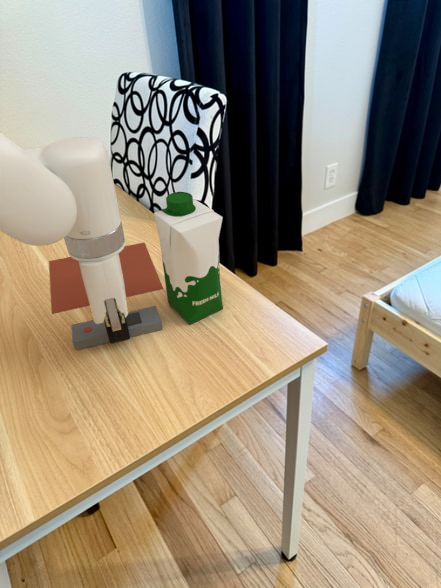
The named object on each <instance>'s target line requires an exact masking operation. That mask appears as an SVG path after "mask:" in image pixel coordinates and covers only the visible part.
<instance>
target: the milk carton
mask: <svg viewBox="0 0 441 588" xmlns="http://www.w3.org/2000/svg"><path fill="white" fill-rule="evenodd" d="M193 198H194V197H193V195H192V194H191V193H189V192H188V191H187V192H186V191H176V192H171V193H170V194H168V195H166V197H165V201H166V202H165V203H166V207H165V208H163V209H160V210H158V211H155V212H154V213H153V216H154V220H155V224H156V229H157V234H158V238H159V245H160V253H161V254H160V255H161V260H162V268H163V269H162V270H163V275H164V283H165V292H166V297H167V304H168V305H169V306H170V307H171V308H172V309H173V310H174V311H175V312H176V313H177V314H178V315H179V316H180V317H181V319H183V320H184V322H186V323H187V324H188V325H189V326H191V325H193V324H195V323H197V322H199V321H201V320H203V319H205V318H207V317H209V316H211V315H213V314H215V313H218V312H220V311H222V310H223V309H224V306H223V296H222V286H221V274H220V273H221V272H220V268H221V267H220V244H219V243H220V242H219V239H220V233H221V228H222V223H223V216H222V215H220V214H218V213H217V212H215V211H214V209H212V208H211V207H209V206H206V205H205V204H203V203H201V202H200V201H198V200H197V199H193Z"/></svg>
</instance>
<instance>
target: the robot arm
mask: <svg viewBox="0 0 441 588" xmlns="http://www.w3.org/2000/svg"><path fill="white" fill-rule="evenodd" d="M118 202H119V201H118V198H117V192H116V187H115V182H114V178H113V172H112V166H111V162H110V157H109V153H108V150H107V148H106V146H105V145H104V143H102V142H101V141H100V140H99V139H96V138H93V137H87V136H73V137H66V138H62V139H58V140H56V141H53V142H51V143H49V144H48V145H46V146H45V145H44V146H39V147H29V148H23V147H21V146H19V145H18V144H16V142H14V141H13V140H11V139H10V138H9V137H7V136H6V135H5V134H4V133H2V132H0V232H1V233H2V234H5V235H7V236H8V237H10V238H11V239H13V240H16V241H17V242H19V243H22V244H25V245H29V246H35V247H43V246H50V245H53V244H57V243H58V242H60V241H61V240H63V239H64V243H65V247H66V249H67V253H68V255H69V257H72V258H73V259H75V260H78V261H79V265H80V270H81V274H82V278H83V282H84V285H85V289H86V293H87V296H88V300H89V304H90V306H89V307H90V311H91V315H92V318H93V319H92V320H94V322H95V323H96V324H100V323H103V322H105V327H106V331H107V334H108V338H109V342H108V343H110V344H117V343H121V342H124V341H128V340H130V339H131V337H130V334H129V330H128V325H127V321H126V317H127V315H128V312H129V310H128V309H129V308H128V301H127V297H126V292H125V285H124V279H123V274H122V268H121V263H120V258H119V253H120V252H121V251H122V250H123V249H124V247H125V246H126V238H125V233H124V232H125V231H124V229H123V228H124V227H123V223H122V219H121V212H120V208H119V207H120V206H119V203H118ZM119 314H120V315H119Z"/></svg>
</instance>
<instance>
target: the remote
mask: <svg viewBox="0 0 441 588" xmlns="http://www.w3.org/2000/svg"><path fill="white" fill-rule="evenodd" d="M119 315H120V314H119ZM126 321H127V325H128V330H129V334H130V338H133V337H137V336H142V335H146V334H149V333H153V332H157V331H162V330H163V325H162V320H161V316H160V314H159V311H158V308H157V305H153V306H148V307H143V308H139V309H135V310H131V311H128V315H127V317H126ZM71 335H72V344H73V347H74V350H75V351H78V350H83V349H87V348H91V347H95V346H100V345H104V344H108V343H110V342H109V338H108V334H107V331H106V327H105V322H103V323H100V324H96V323H95V322H94V320H93V319H91V320H86V321H82V322H77V323H72V324H71Z"/></svg>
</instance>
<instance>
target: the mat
mask: <svg viewBox="0 0 441 588" xmlns="http://www.w3.org/2000/svg"><path fill="white" fill-rule="evenodd" d="M149 252H150V251H149V250H148V247H147V245H146V243H145V242H138V243H134V244H128V245H125V247H124V249H123V250H122V251H121V252H120V253H119V258H120V263H121V268H122V274H123V279H124V285H125V292H126V298H130V297H134V296H138V295H143V294H147V293H152V292H156V291H161V290H164V287H163V285H162V284H163V283H162V282H161V280H160V276H159V274H158V272H157V270H156V267H155V265H154V261H153V260H152V257H151V255H150V253H149ZM48 267H49V269H48V270H49V286H50V304H51V314H52V315H53V314H57V313H58V314H59V313H62V312H67V311H72V310H76V309H80V308H85V307H90V304H89V300H88V296H87V293H86V289H85V285H84V282H83V278H82V274H81V270H80V265H79V261H78V260H75V259H73V258H72V257H71V256H68V257H63V258H57V259H52V260H48Z"/></svg>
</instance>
